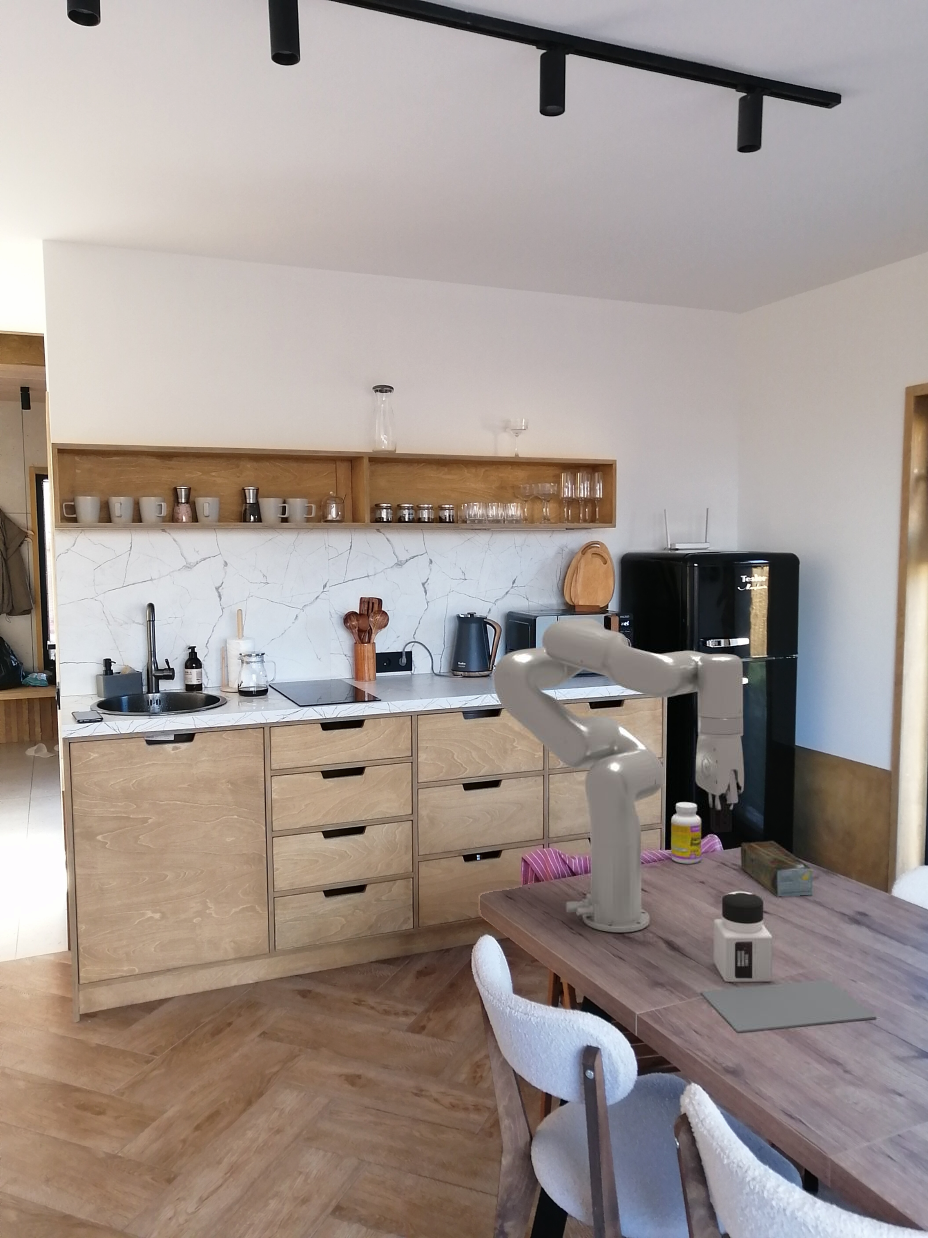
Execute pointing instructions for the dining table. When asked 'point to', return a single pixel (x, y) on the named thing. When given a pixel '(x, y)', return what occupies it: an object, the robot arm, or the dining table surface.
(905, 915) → the dining table surface
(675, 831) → the supplement bottle
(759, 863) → the beverage carton
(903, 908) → the dining table surface
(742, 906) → the container
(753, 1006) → the rubber mat
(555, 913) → the dining table surface
